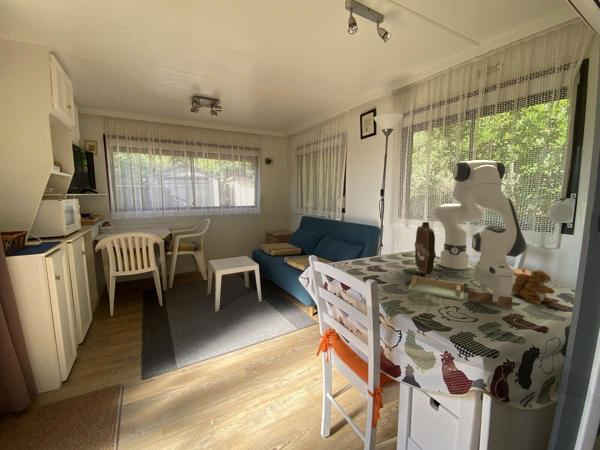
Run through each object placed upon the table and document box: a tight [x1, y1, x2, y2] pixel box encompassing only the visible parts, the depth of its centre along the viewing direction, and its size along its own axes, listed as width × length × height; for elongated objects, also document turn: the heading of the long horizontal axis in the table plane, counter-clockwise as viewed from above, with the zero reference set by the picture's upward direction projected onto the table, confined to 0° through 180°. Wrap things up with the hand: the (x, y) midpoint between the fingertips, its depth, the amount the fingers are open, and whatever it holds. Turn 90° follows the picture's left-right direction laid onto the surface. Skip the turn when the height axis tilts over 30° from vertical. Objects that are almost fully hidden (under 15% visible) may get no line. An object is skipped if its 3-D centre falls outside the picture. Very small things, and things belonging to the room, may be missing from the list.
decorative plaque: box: [414, 221, 437, 277], centre depth 137 cm, size 30×3×30 cm, turn 168°
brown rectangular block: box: [467, 288, 514, 308], centre depth 105 cm, size 14×5×4 cm, turn 67°
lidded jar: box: [511, 268, 531, 286], centre depth 121 cm, size 11×11×9 cm
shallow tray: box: [407, 274, 465, 301], centre depth 117 cm, size 11×22×5 cm, turn 57°
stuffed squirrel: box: [512, 269, 555, 306], centre depth 108 cm, size 10×14×13 cm
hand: (489, 297), depth 105 cm, fingers closed on brown rectangular block, 6 cm apart
